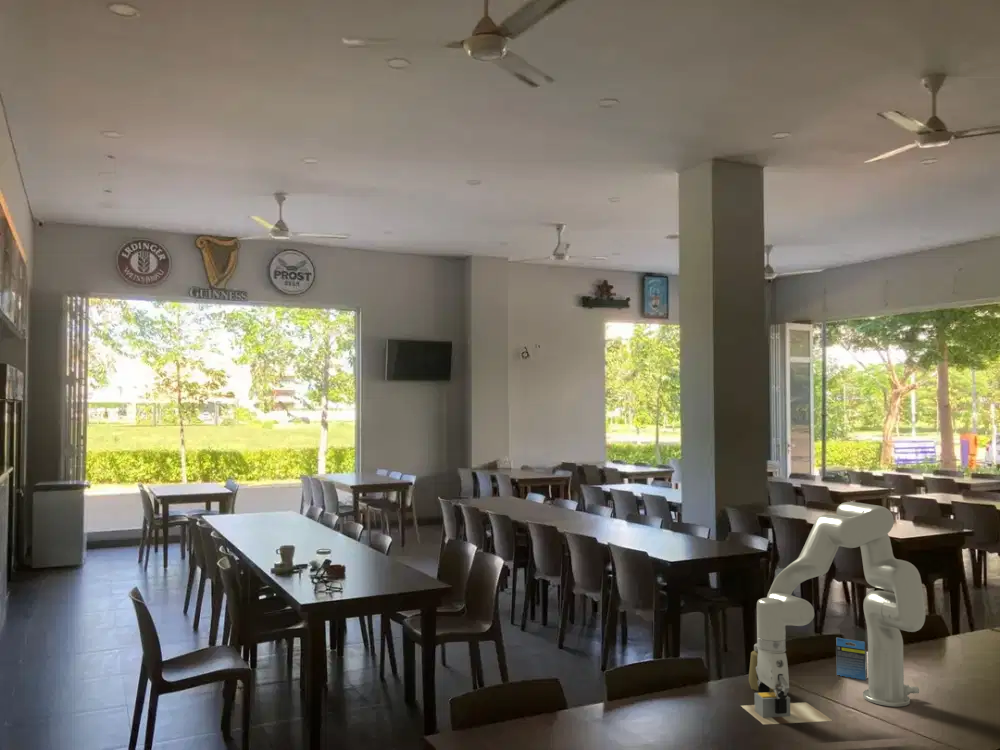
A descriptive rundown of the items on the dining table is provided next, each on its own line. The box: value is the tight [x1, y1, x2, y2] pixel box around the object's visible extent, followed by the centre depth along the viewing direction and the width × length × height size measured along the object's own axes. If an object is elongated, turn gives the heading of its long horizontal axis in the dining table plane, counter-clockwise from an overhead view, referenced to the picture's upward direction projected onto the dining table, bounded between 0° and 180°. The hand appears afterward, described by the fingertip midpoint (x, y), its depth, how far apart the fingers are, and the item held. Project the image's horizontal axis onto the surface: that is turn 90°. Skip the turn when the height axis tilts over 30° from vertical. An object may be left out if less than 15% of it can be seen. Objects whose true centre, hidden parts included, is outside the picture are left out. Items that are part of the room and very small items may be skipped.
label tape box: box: [835, 637, 868, 681], centre depth 260 cm, size 9×4×12 cm, turn 57°
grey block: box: [753, 691, 791, 718], centre depth 223 cm, size 8×5×5 cm, turn 98°
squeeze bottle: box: [748, 643, 774, 692], centre depth 244 cm, size 8×8×18 cm
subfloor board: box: [740, 702, 833, 726], centre depth 224 cm, size 20×14×2 cm
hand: (772, 706), depth 223 cm, fingers open, 9 cm apart
